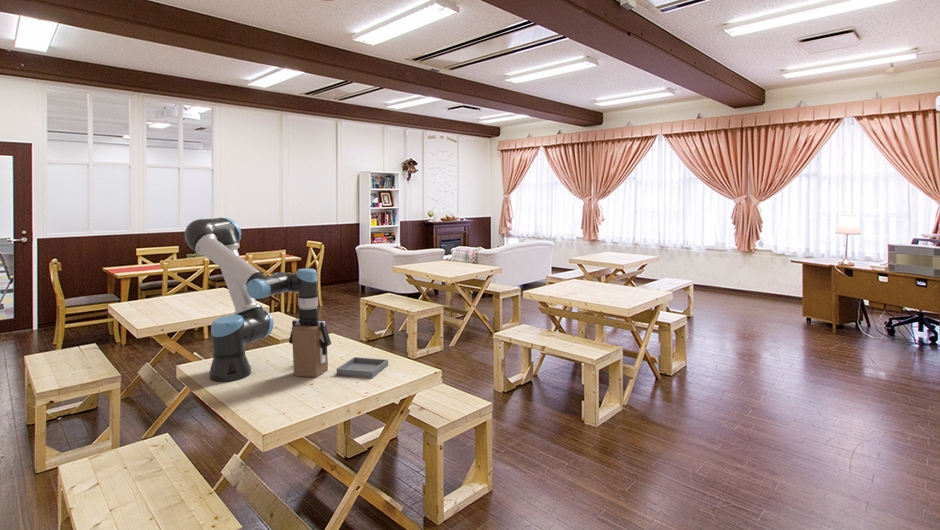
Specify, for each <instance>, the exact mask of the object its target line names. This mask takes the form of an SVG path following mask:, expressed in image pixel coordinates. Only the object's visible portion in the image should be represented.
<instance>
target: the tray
mask: <svg viewBox="0 0 940 530" xmlns="http://www.w3.org/2000/svg"><path fill="white" fill-rule="evenodd" d="M388 366H389V359H382V358H371V357H370V358H369V357H361V356H360V357H358V356H356V357H355V356H354V357H352V358H350V359H348V361H346V362H345V363H343V364H342V365H340V366H339V367H337V368H336V375H337V376H346V377H357V378H365V379H366V378H368V379H374V378H375V377H376V376H378V374H380V373H381V372H382V371H384V370H385V369H386V368H387V367H388ZM384 368H385V369H384ZM379 372H380V373H379ZM373 377H374V378H373Z"/></svg>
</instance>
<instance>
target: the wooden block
mask: <svg viewBox="0 0 940 530" xmlns="http://www.w3.org/2000/svg"><path fill="white" fill-rule="evenodd" d="M291 331H292V344H291V345H292V359H293V360H292V363H293V364H292V365H293V376H294V377H306V378H318V377H319V376H321V375H322V374H323V373H326V372H327V371H328V370H329V365H328V364H329V361H328V359H329V358H328V353H327V354H326V355H325V362H324V363H320V347H322V346H321V345H320V337H321V336H323V335H322V332H321V329H320V327H319V324H318V325H317V326H308V325H305V326H301V325H300V324H298V325H296V326H294V327H291Z"/></svg>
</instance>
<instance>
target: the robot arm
mask: <svg viewBox="0 0 940 530" xmlns="http://www.w3.org/2000/svg"><path fill="white" fill-rule="evenodd" d="M241 236H242V230H241V227H240V226H239V224H238V223H237V222H236V221H235V220H233V219H232V218H227V217H218V218H200V219H199V218H198V219H195V220H192V221H191V222H190V223H189V224H188V225H187V226H186V228H185V231H184V240H185V243H186V244H187V246H188V247H189V248H190V249H191V250H192V251H193V252H195V253H196V254H198V255H200V256H204V257H206V258H207V259H209V260H210V261H211V262H213V264H216V266H218V267H219V268H220V271H221V274H222V275H223V280H224V281H225V284H226V287H227V289H228V290H227V291H228V293H229V295H230V299H231V301H232V304H233V306H234V309H235V311H234V312H233V314H228V315H223V316H220V317H218V318H216V319H214V320H213V321H212V323H211V326H210V328H211V330H210V334H211V335H210V337H211V346H212V362H211V365H210V370H209V379H210V380H211V381H214V382H231V381H237V380H242V379H244V378H247V377H248V376H250V375H251V374H252V366H251V364H250V363H249V360H248V357H247V355H246V345H249V344H252V343H254V342H257V341H261V340H263V339H264V338H266V337H268V336H270V335H271V333H272V332H273V329H274V323H275V322H274V318H273V316H272V314H271V313H270V312H269V311H268V310H265V309H264V308H263V306H262V304H260V303H258V302H257V300H258V299H259V300H260V299H265V298H268V297H271V296H275V295H280V294H283V293H288V292H289V293H297V301H298V308H299V309H298V317H299V319H298V318H296V319H294V320H292V321H291V324H292V327H294V326H296V325H298V324H300V325H301V326H305V325H308V326H317V325H318V324H319V327H320V329H321V332H322V335H323V336H321V337H320V345H321V346H322V347H320V363H324V362H325V355H326V354H327V355H328V347H329V346H330V345H332V341H331V338H330V335H329V332H328V328H327V321H326V320H322V321H321V320H319V308H318V306H319V299H318V298H319V297H318V276H317V270H316V269H314V268H298V269H297V271H296V273H293V272H292V273H291V272H284V271H283V272H282V271H281V272H275V273H273V274H272V275H268V276H267V275H265V274H263V273H262V272H261V271H260V270H258V269H257V268H256V267H254V266H253V265H251V264H250V263H249V262H248V261H246V260H245V259H243V258H242V257H240V252H239V251H238V249H239V248H240V246H241V245H240V241H241V239H242V237H241ZM292 327H291V328H292ZM288 343H289V345H290V344H291V345H293V344H292V330H291V332H290V336H289V339H288Z"/></svg>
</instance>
